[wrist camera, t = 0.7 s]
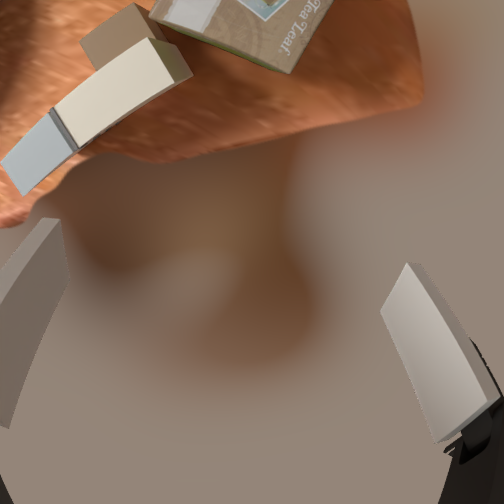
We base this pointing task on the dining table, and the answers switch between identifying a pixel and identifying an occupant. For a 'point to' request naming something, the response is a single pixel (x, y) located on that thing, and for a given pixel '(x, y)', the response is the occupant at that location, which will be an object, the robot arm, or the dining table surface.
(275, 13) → the tea box
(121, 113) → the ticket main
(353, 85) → the dining table surface
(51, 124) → the stub
